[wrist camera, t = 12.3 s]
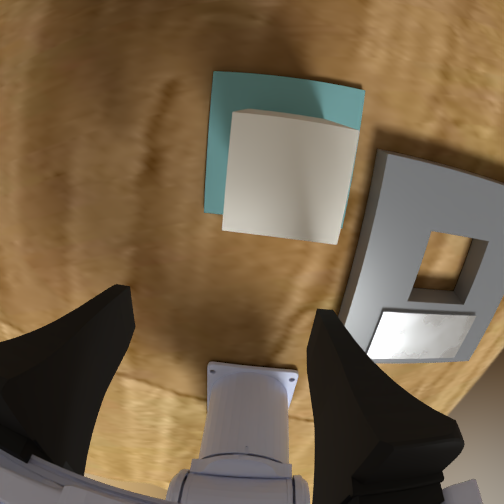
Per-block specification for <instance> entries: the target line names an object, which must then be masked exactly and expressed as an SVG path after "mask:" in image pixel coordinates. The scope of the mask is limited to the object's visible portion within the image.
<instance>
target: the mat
mask: <svg viewBox="0 0 504 504" xmlns="http://www.w3.org/2000/svg"><path fill="white" fill-rule="evenodd" d="M364 96H365V90H361V89H356V88H351V87H346V86H341V85H336V84H330V83H324V82H318V81H312V80H305V79H298V78H291V77H283V76H274V75H264V74H253V73H239V72H221V71H214V72H213V83H212V94H211V106H210V119H209V132H208V147H207V163H206V181H205V202H204V213H214V214H223V211H224V199H225V187H226V175H227V164H228V153H229V143H230V132H231V122H232V112H234V111H239V110H244V109H258V110H267V111H275V112H283V113H290V114H297V115H303V116H310V117H316V118H322V119H326V120H329V121H332V122H336V123H339V124H342V125H345V126H348V127H351V128H353V129H356V130H359V132H360V125H361V118H362V111H363V104H364ZM358 139H359V137H358ZM357 145H358V143H357ZM356 151H357V149H356ZM355 157H356V154H355ZM354 163H355V160H354ZM353 169H354V165H353ZM352 175H353V171H352ZM351 180H352V176H351ZM350 186H351V181H350ZM350 186H349V191H350ZM349 191H348V196H349ZM348 196H347V201H346V206H345V210H344V215H343V220H342V224H341V228H342V226H343V222H344V217H345V212H346V207H347V202H348Z"/></svg>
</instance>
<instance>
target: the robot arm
mask: <svg viewBox="0 0 504 504" xmlns="http://www.w3.org/2000/svg"><path fill="white" fill-rule="evenodd" d="M134 329H135V321H134V314H133V307H132V300H131V292H130V286H125V285H118V284H116V285H114V286H112V287H110V288H108V289H107V290H105V291H104V292H102V293H100V294H99V295H97V296H96V297H94V298H93V299H91V300H89V301H88V302H86V303H85V304H83V305H82V306H80V307H78V308H77V309H75V310H73V311H72V312H70V313H68V314H66V315H65V316H63V317H61V318H60V319H58V320H56V321H54V322H52V323H50V324H48V325H46V326H44V327H42V328H39V329H37V330H35V331H32V332H30V333H27V334H24V335H22V336H19V337H16V338H13V339H10V340H6V341H3V342H0V504H310V494H309V487H308V483H307V482H306V481H305V480H304V479H303V478H302V476H300V475H293V477H292V464H289V433H288V409H289V406H290V402H291V399H292V396H293V393H294V389H295V386H296V383H297V379H298V371H296V370H291V369H278V368H267V367H256V366H247V365H238V364H229V363H221V362H209V363H208V366H207V417H206V422H205V427H204V433H203V438H202V443H201V449H200V454H199V459H192V463H191V468H190V470H189V469H182V470H181V471H179V473H178V474H176V475H175V476H174V477H173V478H172V480H171V482H170V485H169V488H168V491H167V495H166V500H163V499H158V498H153V497H150V496H145V495H142V494H138V493H134V492H130V491H127V490H124V489H120V488H116V487H113V486H110V485H107V484H104V483H101V482H98V481H95V480H93V479H90V478H87V477H84V471H85V465H86V460H87V454H88V450H89V445H90V441H91V437H92V433H93V429H94V426H95V422H96V419H97V416H98V412H99V409H100V407H101V404H102V401H103V398H104V395H105V393H106V391H107V388H108V386H109V384H110V382H111V380H112V378H113V376H114V375H115V373H116V371H117V369H118V367H119V365H120V363H121V361H122V359H123V357H124V355H125V353H126V351H127V349H128V347H129V344H130V341H131V338H132V335H133V332H134ZM213 370H215V371H213ZM307 374H308V381H309V389H310V395H311V402H312V409H313V416H314V427H315V467H314V488H313V501H312V504H483V503H482V499H481V496H480V492H479V489H478V485H477V482H476V480H475V479H471V480H468V481H465V482H462V483H458V484H454V485H451V486H449V487H447V488H444V489H443V490H442V488H441V484H440V482H442V481H443V480H444V476H443V472H442V471H443V470H444V469H445V468H446V467H447V466H448V465H449V464H450V463H451V462H452V461H453V460H454V459H455V458H457V456H458V455H459V454H460V453H461V451H462V449H463V447H464V440H463V437H462V435H461V432H460V429H459V427H458V424H457V423H456V420H453V419H452V418H450V417H448V416H446V415H444V414H442V413H440V412H438V411H436V410H434V409H432V408H431V407H429V406H428V405H426V404H424V403H423V402H421V401H420V400H418V399H417V398H415V397H414V396H412V395H411V394H410V393H408V392H407V391H406V390H404V389H403V388H402V387H400V386H399V385H398V384H397V383H396V382H394V381H393V380H392V379H391V378H390V377H389V376H388V375H387V374H386V373H384V372H383V371H382V370H381V369H380V368H379V367H378V366H377V365H376V364H375V363H374V362H373V360H372V359H371V358H370V357H369V356H368V355H367V354H366V353H365V352H364V350H363V349H362V348H361V347H360V346H359V344H358V343H357V342H356V341H355V339H354V338H353V337H352V335H351V334H350V333H349V331H348V330H347V329H346V327H345V326H344V325H343V323H342V322H341V320H340V319H339V318H338V316H337V315H336V314H335V312H334V311H333V310H326V309H317V311H316V315H315V319H314V323H313V327H312V331H311V335H310V338H309V342H308V346H307ZM291 378H292V379H291Z"/></svg>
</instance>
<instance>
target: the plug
mask: <svg viewBox="0 0 504 504" xmlns="http://www.w3.org/2000/svg"><path fill="white" fill-rule="evenodd" d="M358 137H359V130H356V129H353V128H351V127H348V126H345V125H342V124H339V123H336V122H332V121H329V120H326V119H322V118H316V117H310V116H303V115H297V114H290V113H283V112H275V111H267V110H258V109H244V110H239V111H234V112H232V122H231V132H230V143H229V153H228V164H227V175H226V187H225V199H224V211H223V224H222V230H223V231H232V232H240V233H248V234H257V235H265V236H273V237H281V238H289V239H297V240H304V241H312V242H320V243H328V244H335V245H337V242H338V237H339V233H340V229H341V224H342V220H343V215H344V210H345V206H346V201H347V196H348V191H349V186H350V181H351V176H352V171H353V165H354V160H355V154H356V149H357V143H358Z"/></svg>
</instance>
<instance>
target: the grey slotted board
mask: <svg viewBox="0 0 504 504" xmlns="http://www.w3.org/2000/svg"><path fill="white" fill-rule="evenodd" d="M431 231H435V232H441V233H447V234H453V235H458V236H464V237H469V238H473V241H472V244H471V247H470V250H469V252H468V255H467V258H466V261H465V263H464V266H463V269H462V271H461V274H460V277H459V279H458V282H457V284H456V287H455V289H454V291H445V290H433V289H421V288H413V285H414V282H415V279H416V277H417V274H418V271H419V268H420V265H421V262H422V259H423V256H424V253H425V250H426V247H427V243H428V240H429V237H430V233H431ZM503 295H504V183H503V182H500V181H497V180H494V179H491V178H488V177H485V176H481V175H478V174H475V173H472V172H468V171H465V170H462V169H458V168H455V167H451V166H448V165H444V164H440V163H437V162H433V161H429V160H425V159H421V158H417V157H413V156H409V155H405V154H400V153H396V152H391V151H387V150H382V149H377V155H376V160H375V166H374V171H373V176H372V182H371V187H370V192H369V196H368V201H367V206H366V211H365V215H364V220H363V224H362V228H361V233H360V237H359V241H358V245H357V249H356V253H355V257H354V261H353V265H352V269H351V273H350V276H349V280H348V284H347V287H346V291H345V294H344V298H343V301H342V305H341V308H340V312H339V315H338V318H339V319H340V320H341V322H342V323H343V325H344V326H345V327H346V329H347V330H348V331H349V333H350V334H351V335H352V337H353V338H354V339H355V341H356V342H357V343H358V344H359V346H360V347H361V348H362V349H363V350H364V352H365V353H366V354H367V355H368V356H369V357H370V358H371V359H372V360H373V362H374V363H436V362H457V361H469V359H470V357H471V356H472V354H473V352H474V351H475V349H476V347H477V345H478V344H479V342H480V340H481V338H482V337H483V335H484V333H485V331H486V329H487V327H488V325H489V323H490V321H491V320H492V318H493V316H494V314H495V312H496V310H497V307H498V305H499V303H500V301H501V299H502V297H503Z"/></svg>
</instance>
